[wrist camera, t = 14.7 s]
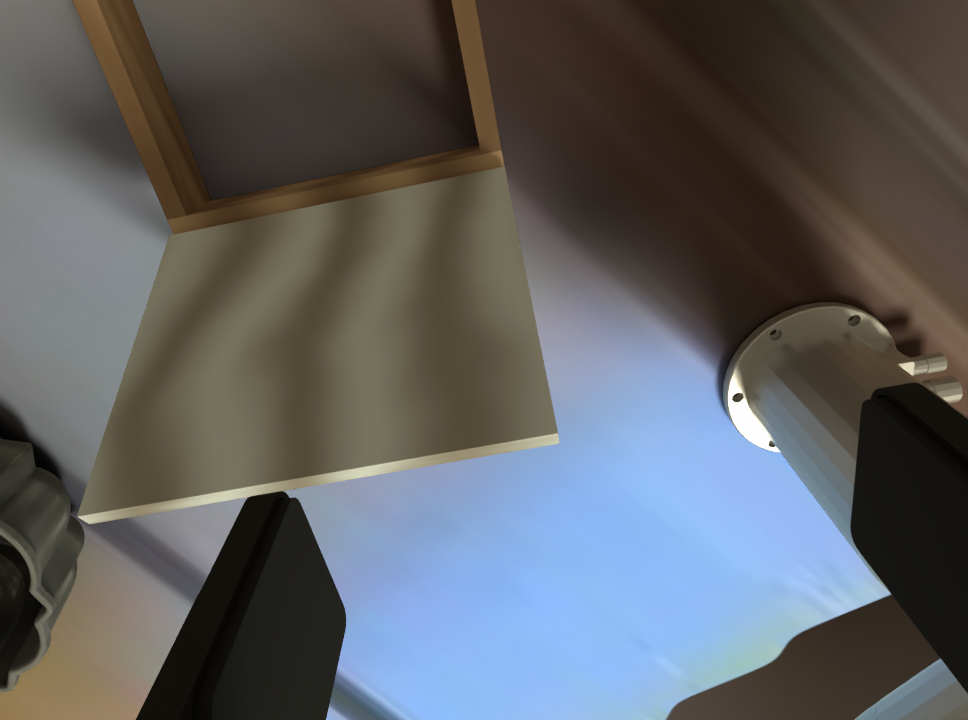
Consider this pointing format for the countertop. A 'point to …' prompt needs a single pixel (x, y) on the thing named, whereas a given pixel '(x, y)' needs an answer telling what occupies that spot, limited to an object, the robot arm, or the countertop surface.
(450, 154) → the cold frame
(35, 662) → the bundt pan
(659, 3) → the countertop surface
